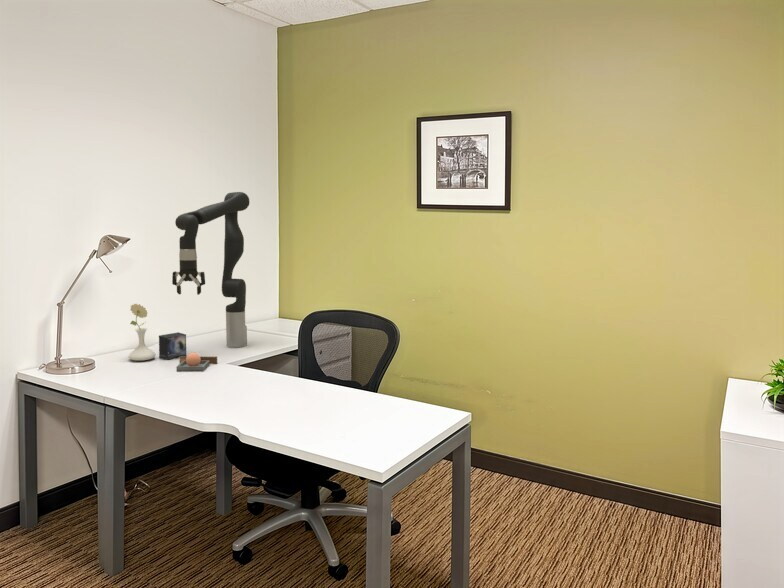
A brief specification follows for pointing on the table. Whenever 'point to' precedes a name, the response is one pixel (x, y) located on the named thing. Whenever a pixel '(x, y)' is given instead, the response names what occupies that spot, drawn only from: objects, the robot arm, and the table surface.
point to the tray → (200, 367)
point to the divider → (212, 359)
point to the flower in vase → (140, 336)
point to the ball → (193, 359)
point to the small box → (172, 345)
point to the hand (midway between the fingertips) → (189, 294)
